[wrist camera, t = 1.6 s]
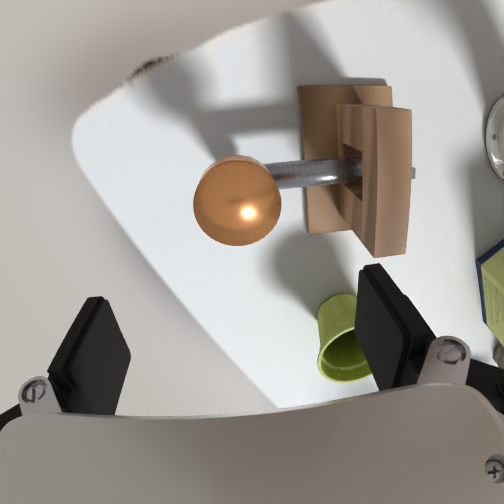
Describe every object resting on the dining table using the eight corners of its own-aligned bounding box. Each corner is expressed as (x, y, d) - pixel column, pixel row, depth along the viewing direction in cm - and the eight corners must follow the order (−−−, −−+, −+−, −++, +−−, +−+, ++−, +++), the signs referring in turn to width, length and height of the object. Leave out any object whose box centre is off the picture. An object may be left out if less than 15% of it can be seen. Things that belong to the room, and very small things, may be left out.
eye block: (388, 86, 29) (446, 87, 19) (388, 222, 36) (434, 268, 26) (297, 86, 29) (327, 81, 19) (307, 231, 36) (333, 284, 26)
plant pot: (308, 282, 39) (324, 327, 32) (378, 280, 40) (405, 321, 32) (300, 339, 44) (312, 386, 36) (363, 334, 44) (383, 378, 36)
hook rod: (390, 132, 29) (444, 151, 20) (389, 187, 32) (438, 223, 23) (201, 147, 30) (186, 169, 21) (210, 205, 32) (201, 250, 23)
